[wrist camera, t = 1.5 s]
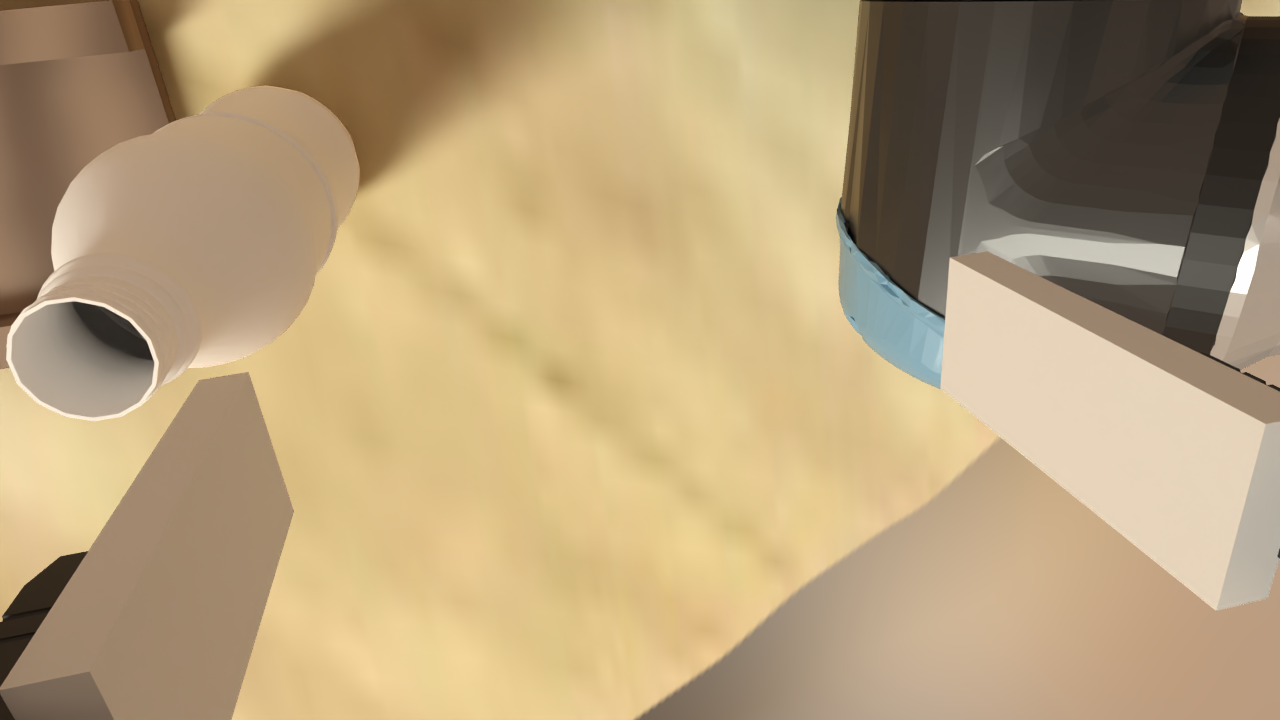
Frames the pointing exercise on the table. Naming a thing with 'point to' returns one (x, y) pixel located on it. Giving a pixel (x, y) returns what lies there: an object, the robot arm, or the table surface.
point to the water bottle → (184, 251)
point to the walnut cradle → (63, 122)
